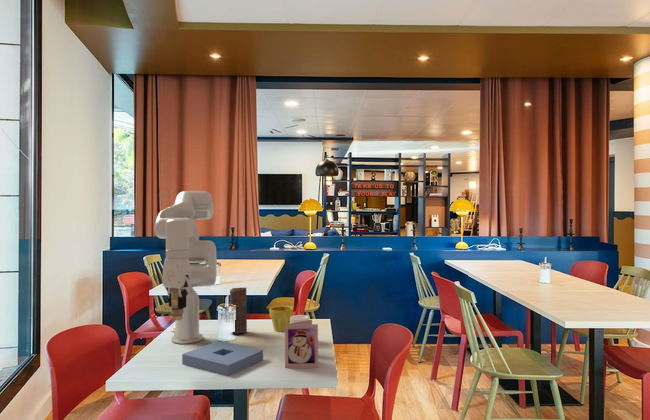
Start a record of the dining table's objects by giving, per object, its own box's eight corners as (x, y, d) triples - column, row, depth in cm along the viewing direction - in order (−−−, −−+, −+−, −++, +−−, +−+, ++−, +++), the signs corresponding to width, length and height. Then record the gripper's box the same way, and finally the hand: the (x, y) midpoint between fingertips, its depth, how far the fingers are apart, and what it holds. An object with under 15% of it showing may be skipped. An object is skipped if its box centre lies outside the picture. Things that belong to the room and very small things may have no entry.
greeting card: (284, 368, 153) (284, 325, 153) (286, 361, 160) (286, 319, 160) (318, 368, 153) (317, 324, 153) (317, 360, 160) (317, 319, 160)
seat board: (182, 363, 158) (182, 354, 158) (218, 349, 173) (218, 340, 173) (228, 375, 146) (228, 365, 146) (263, 359, 162) (263, 350, 162)
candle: (242, 336, 191) (242, 289, 191) (226, 335, 193) (226, 289, 193) (249, 331, 199) (249, 286, 199) (234, 330, 200) (233, 286, 200)
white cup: (295, 345, 178) (295, 320, 178) (286, 340, 185) (286, 316, 185) (312, 342, 182) (312, 318, 182) (303, 337, 189) (303, 314, 189)
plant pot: (268, 333, 196) (268, 311, 196) (271, 326, 206) (270, 305, 206) (291, 332, 196) (291, 310, 196) (293, 326, 206) (293, 305, 206)
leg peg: (168, 319, 154) (168, 285, 153) (178, 317, 157) (178, 283, 157) (176, 321, 151) (176, 286, 151) (186, 318, 155) (185, 284, 155)
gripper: (152, 254, 155) (153, 306, 156) (184, 257, 146) (185, 312, 147) (170, 252, 162) (170, 302, 162) (202, 254, 153) (202, 308, 153)
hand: (177, 306), depth 154 cm, fingers closed on leg peg, 4 cm apart
